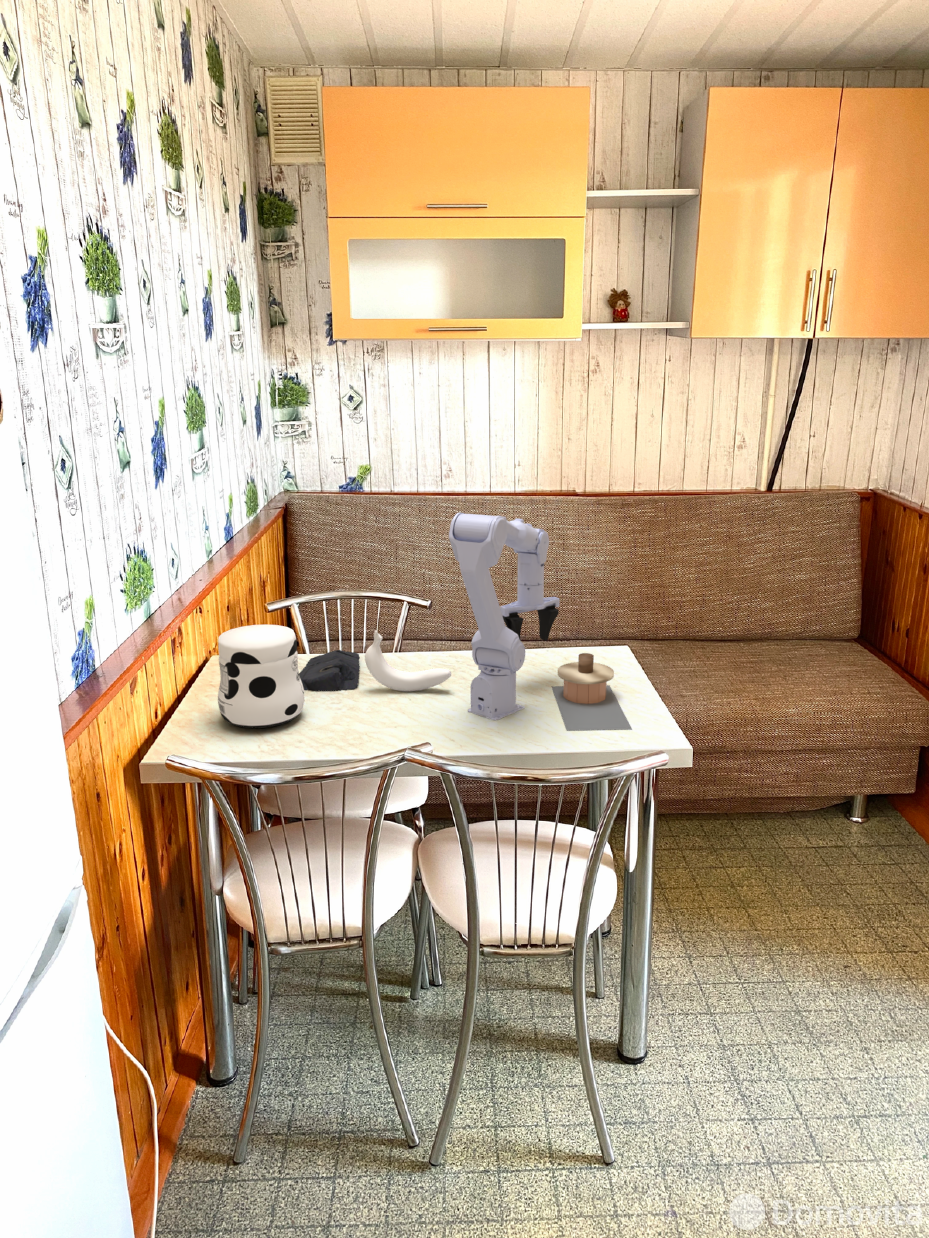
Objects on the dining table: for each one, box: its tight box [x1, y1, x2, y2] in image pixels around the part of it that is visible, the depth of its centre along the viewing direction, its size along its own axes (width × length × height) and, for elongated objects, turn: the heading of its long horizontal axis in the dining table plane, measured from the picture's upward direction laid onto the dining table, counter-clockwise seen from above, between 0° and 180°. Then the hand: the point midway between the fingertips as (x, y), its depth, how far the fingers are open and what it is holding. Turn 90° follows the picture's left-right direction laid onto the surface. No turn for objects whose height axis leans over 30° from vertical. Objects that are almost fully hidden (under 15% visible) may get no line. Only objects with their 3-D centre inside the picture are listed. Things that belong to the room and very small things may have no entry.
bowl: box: [563, 680, 608, 704], centre depth 200 cm, size 9×9×5 cm
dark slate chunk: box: [299, 649, 361, 692], centre depth 216 cm, size 15×22×5 cm
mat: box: [551, 684, 633, 732], centre depth 195 cm, size 25×13×1 cm, turn 2°
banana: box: [364, 630, 452, 692], centre depth 204 cm, size 5×19×15 cm, turn 90°
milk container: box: [217, 624, 305, 729], centre depth 189 cm, size 17×17×18 cm
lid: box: [557, 652, 615, 684], centre depth 199 cm, size 12×12×4 cm
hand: (529, 642), depth 205 cm, fingers open, 7 cm apart
